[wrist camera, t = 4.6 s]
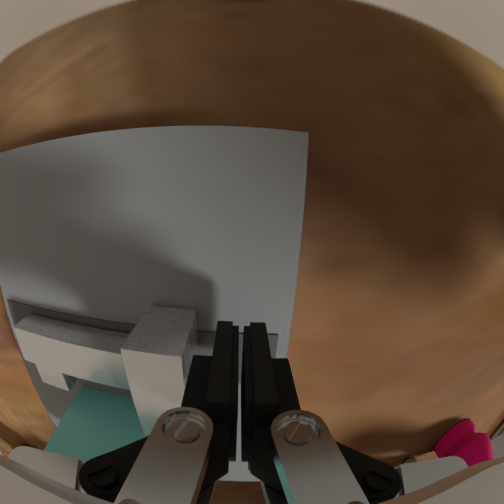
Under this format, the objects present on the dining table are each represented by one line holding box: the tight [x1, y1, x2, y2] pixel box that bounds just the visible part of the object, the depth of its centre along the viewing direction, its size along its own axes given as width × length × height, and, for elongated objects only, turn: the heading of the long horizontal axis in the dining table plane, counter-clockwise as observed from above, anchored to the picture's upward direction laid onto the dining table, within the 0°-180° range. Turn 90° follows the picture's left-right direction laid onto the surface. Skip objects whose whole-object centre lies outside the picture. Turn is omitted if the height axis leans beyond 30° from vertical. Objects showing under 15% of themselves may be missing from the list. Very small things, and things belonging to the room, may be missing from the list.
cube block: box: [44, 386, 145, 461], centre depth 10 cm, size 6×6×6 cm
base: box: [0, 126, 309, 481], centre depth 14 cm, size 16×22×4 cm
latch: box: [13, 306, 198, 437], centre depth 9 cm, size 10×5×3 cm, turn 87°
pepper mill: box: [434, 419, 493, 467], centre depth 12 cm, size 7×7×20 cm
